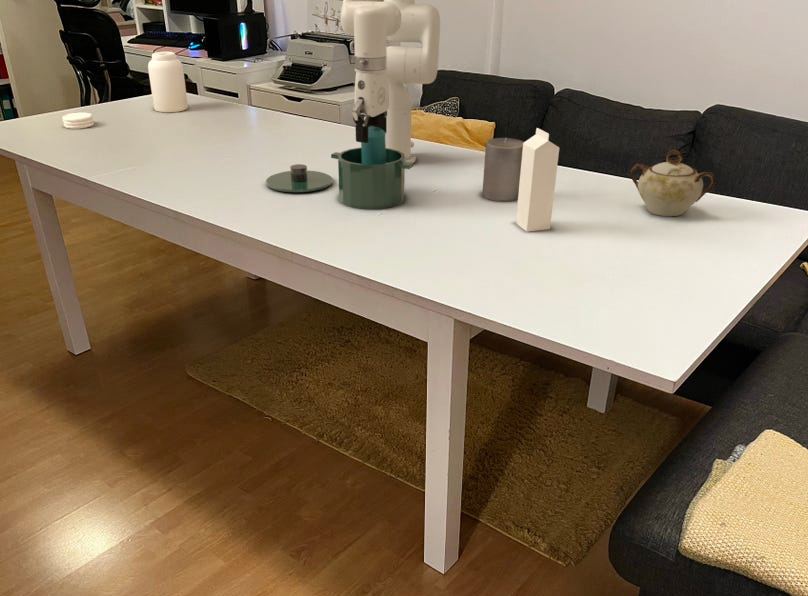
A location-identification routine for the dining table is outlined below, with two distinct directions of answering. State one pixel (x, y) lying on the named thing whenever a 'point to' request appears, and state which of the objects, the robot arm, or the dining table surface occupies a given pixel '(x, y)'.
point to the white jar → (167, 82)
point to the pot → (371, 179)
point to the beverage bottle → (374, 143)
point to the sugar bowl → (670, 186)
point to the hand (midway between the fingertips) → (371, 137)
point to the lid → (299, 180)
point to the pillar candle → (502, 169)
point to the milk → (537, 182)
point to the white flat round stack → (78, 120)
